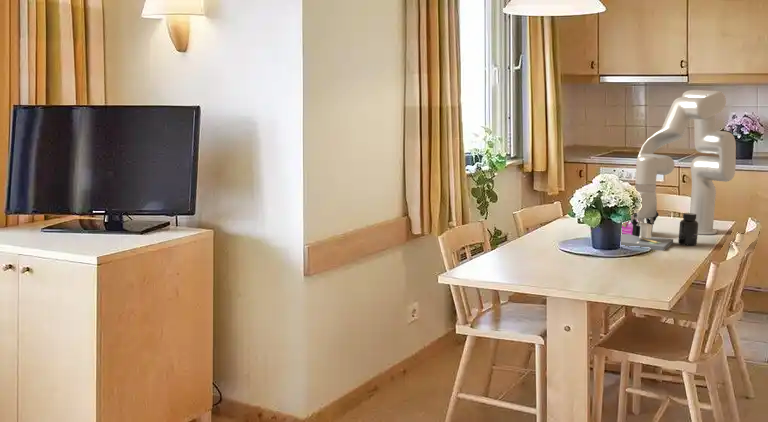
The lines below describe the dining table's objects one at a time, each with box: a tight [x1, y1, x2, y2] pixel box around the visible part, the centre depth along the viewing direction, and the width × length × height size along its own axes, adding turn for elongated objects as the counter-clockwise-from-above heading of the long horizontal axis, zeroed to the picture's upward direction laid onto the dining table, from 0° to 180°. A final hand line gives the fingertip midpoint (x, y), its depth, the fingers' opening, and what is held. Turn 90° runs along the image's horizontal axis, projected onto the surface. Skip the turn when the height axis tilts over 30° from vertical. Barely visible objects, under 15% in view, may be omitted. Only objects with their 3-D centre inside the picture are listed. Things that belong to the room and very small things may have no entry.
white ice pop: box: [639, 222, 658, 243], centre depth 341 cm, size 12×2×6 cm, turn 24°
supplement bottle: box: [678, 212, 699, 247], centre depth 344 cm, size 7×7×12 cm
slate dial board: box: [621, 234, 674, 251], centre depth 344 cm, size 18×20×2 cm
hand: (642, 234), depth 343 cm, fingers open, 6 cm apart
